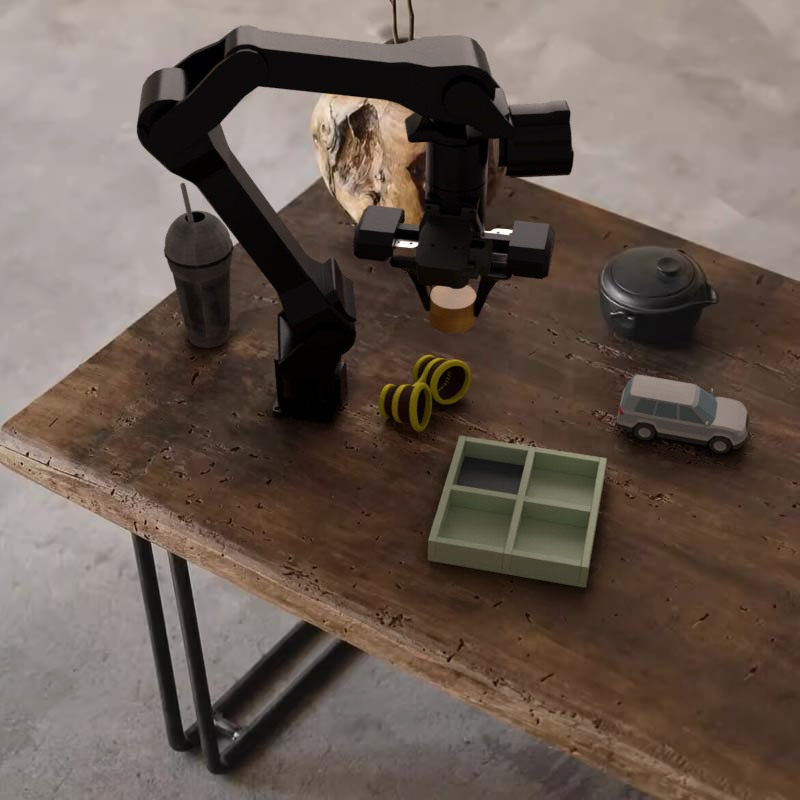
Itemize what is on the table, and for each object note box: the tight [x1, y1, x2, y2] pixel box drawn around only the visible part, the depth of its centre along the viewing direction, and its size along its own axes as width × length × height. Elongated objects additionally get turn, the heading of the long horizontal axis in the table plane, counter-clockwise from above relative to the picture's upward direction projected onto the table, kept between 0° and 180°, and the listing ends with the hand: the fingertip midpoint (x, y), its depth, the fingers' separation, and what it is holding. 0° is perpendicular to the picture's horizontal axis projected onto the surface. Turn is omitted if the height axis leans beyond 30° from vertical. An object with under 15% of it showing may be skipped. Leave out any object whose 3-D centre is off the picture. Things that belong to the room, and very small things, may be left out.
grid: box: [427, 435, 608, 589], centre depth 124 cm, size 14×14×3 cm
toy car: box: [615, 374, 750, 454], centre depth 132 cm, size 6×13×5 cm, turn 74°
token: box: [429, 284, 477, 334], centre depth 131 cm, size 5×5×3 cm
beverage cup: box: [163, 182, 234, 349], centre depth 139 cm, size 7×7×20 cm
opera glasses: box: [378, 354, 472, 433], centre depth 135 cm, size 10×5×5 cm, turn 141°
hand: (452, 311), depth 132 cm, fingers closed on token, 4 cm apart
